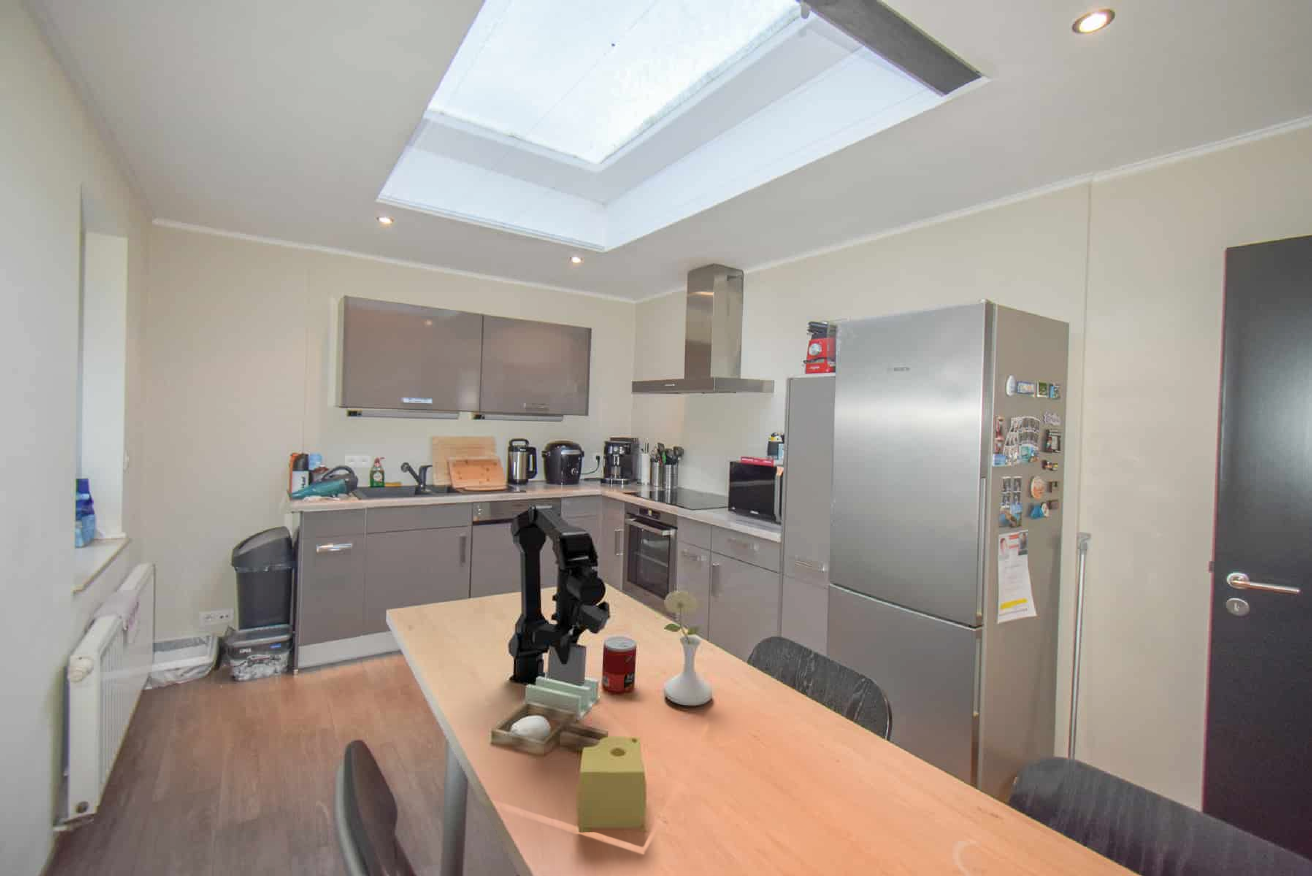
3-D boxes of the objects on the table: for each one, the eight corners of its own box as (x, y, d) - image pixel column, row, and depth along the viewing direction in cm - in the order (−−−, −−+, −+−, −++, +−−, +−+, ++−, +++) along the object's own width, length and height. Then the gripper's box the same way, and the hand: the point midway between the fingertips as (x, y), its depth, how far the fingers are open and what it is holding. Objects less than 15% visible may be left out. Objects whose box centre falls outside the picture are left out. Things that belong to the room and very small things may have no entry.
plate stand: (557, 752, 109) (558, 735, 109) (572, 736, 115) (573, 720, 115) (595, 762, 107) (596, 745, 107) (608, 745, 112) (609, 729, 112)
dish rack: (521, 709, 124) (522, 687, 124) (547, 687, 135) (548, 667, 134) (578, 724, 120) (579, 700, 119) (600, 700, 130) (601, 678, 130)
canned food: (630, 697, 132) (632, 650, 132) (597, 692, 134) (599, 646, 133) (637, 682, 140) (640, 638, 139) (606, 678, 141) (608, 634, 141)
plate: (547, 678, 121) (549, 641, 121) (551, 674, 123) (553, 638, 122) (580, 686, 119) (583, 649, 118) (584, 683, 120) (586, 646, 120)
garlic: (514, 752, 109) (515, 733, 109) (504, 734, 115) (505, 716, 115) (554, 742, 113) (555, 723, 113) (543, 725, 119) (543, 707, 119)
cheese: (578, 791, 98) (581, 734, 98) (641, 791, 99) (643, 734, 99) (575, 835, 88) (578, 772, 88) (645, 834, 89) (647, 772, 89)
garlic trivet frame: (491, 745, 110) (491, 730, 110) (526, 714, 122) (527, 700, 122) (543, 760, 107) (544, 744, 106) (575, 726, 118) (575, 712, 118)
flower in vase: (718, 694, 136) (724, 590, 135) (701, 716, 125) (707, 603, 124) (668, 681, 141) (673, 581, 140) (648, 701, 131) (653, 593, 130)
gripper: (584, 611, 108) (579, 690, 109) (623, 584, 126) (618, 653, 127) (533, 601, 112) (529, 678, 113) (578, 576, 129) (574, 643, 130)
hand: (566, 662), depth 121 cm, fingers closed on plate, 2 cm apart
